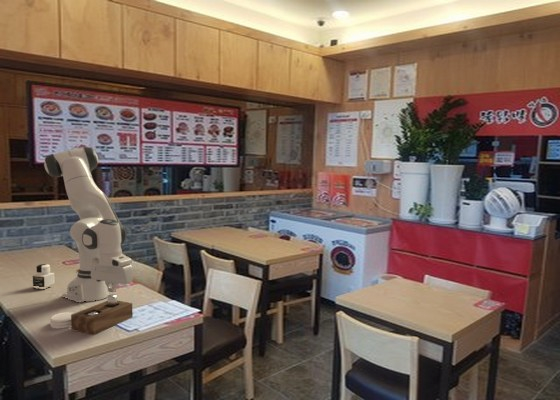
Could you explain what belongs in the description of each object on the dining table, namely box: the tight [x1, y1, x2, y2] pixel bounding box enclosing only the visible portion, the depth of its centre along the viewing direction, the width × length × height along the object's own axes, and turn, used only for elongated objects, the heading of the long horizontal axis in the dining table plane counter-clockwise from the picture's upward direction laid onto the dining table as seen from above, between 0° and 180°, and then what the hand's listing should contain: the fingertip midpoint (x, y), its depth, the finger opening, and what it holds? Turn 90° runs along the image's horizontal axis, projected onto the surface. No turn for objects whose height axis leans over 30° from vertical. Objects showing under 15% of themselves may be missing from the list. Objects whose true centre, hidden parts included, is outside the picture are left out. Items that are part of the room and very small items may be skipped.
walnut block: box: [71, 300, 133, 336], centre depth 168 cm, size 12×20×6 cm, turn 156°
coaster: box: [49, 311, 76, 330], centre depth 167 cm, size 10×10×4 cm
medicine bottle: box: [32, 263, 56, 287], centre depth 214 cm, size 7×7×12 cm
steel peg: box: [106, 293, 118, 307], centre depth 172 cm, size 4×4×5 cm
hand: (111, 291), depth 171 cm, fingers closed
